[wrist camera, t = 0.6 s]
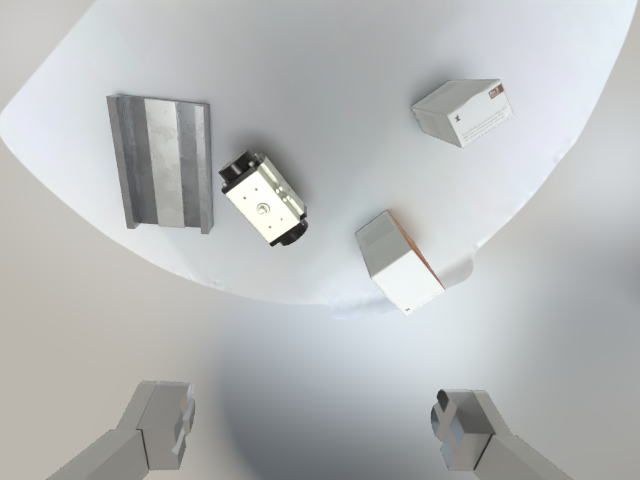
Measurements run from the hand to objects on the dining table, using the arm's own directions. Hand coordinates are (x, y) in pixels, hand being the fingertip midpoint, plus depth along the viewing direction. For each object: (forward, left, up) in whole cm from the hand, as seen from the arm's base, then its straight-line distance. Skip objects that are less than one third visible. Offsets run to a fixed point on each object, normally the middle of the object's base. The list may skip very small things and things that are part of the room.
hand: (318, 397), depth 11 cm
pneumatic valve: (+5, -4, -40) cm, 40 cm away
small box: (+13, +14, -40) cm, 44 cm away
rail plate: (+4, -18, -39) cm, 43 cm away
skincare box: (-7, +17, -40) cm, 44 cm away
